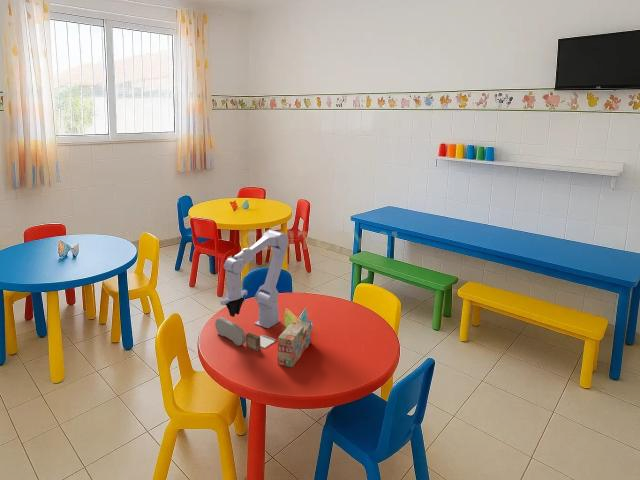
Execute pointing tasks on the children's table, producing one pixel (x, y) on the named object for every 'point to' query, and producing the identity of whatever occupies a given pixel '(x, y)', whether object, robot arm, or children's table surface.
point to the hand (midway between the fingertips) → (234, 314)
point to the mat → (266, 341)
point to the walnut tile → (253, 341)
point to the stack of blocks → (293, 343)
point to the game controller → (230, 331)
